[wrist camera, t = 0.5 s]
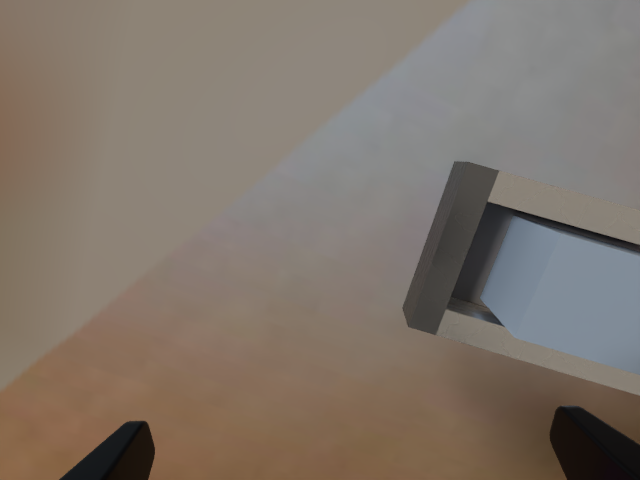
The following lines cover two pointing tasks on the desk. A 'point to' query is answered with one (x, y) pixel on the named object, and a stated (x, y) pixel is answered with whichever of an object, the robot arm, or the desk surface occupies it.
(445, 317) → the white u-shaped frame
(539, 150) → the desk surface
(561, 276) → the block
